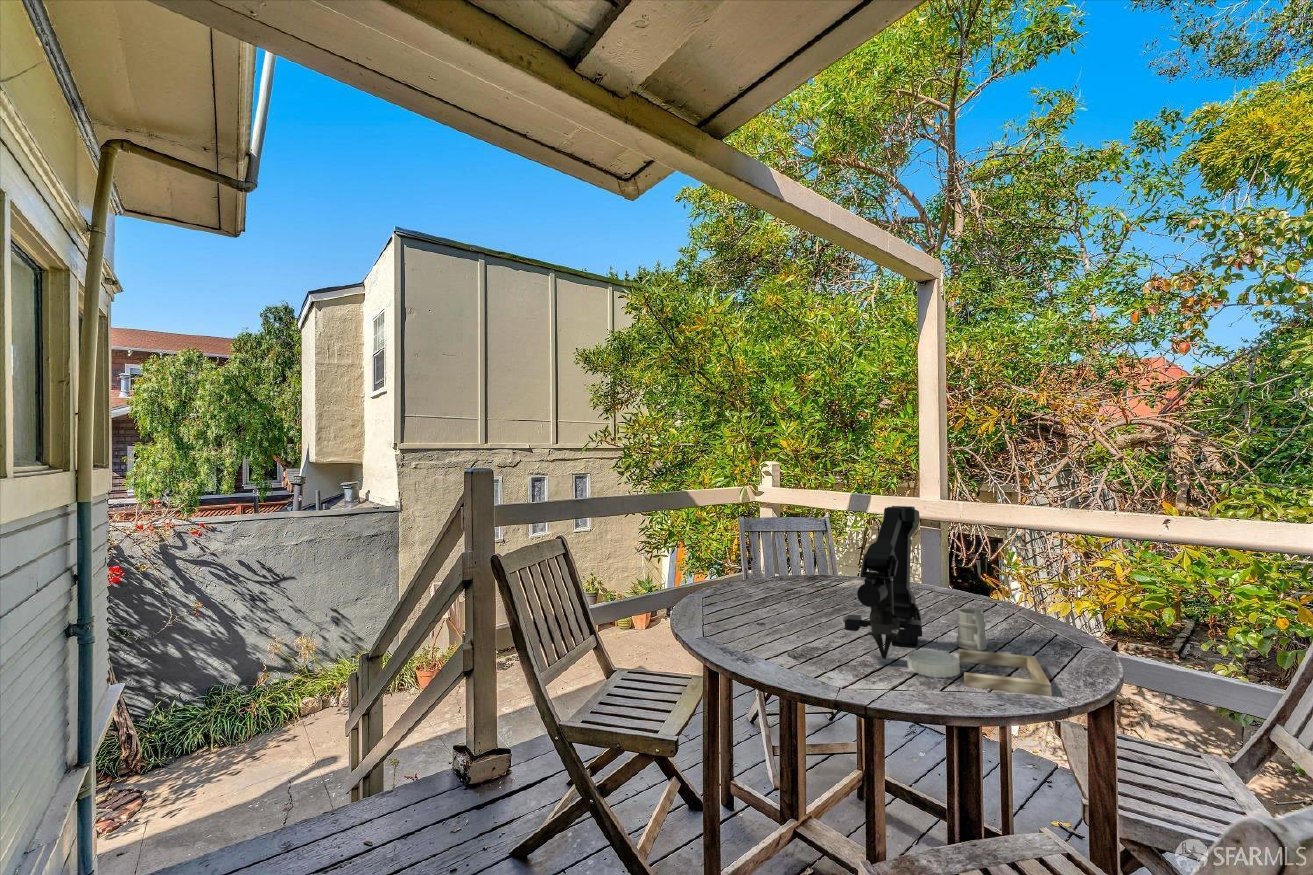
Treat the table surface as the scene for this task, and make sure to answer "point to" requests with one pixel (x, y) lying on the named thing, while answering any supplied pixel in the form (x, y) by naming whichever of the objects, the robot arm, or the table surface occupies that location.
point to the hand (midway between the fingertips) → (884, 658)
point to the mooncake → (933, 663)
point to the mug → (971, 629)
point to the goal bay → (1035, 686)
